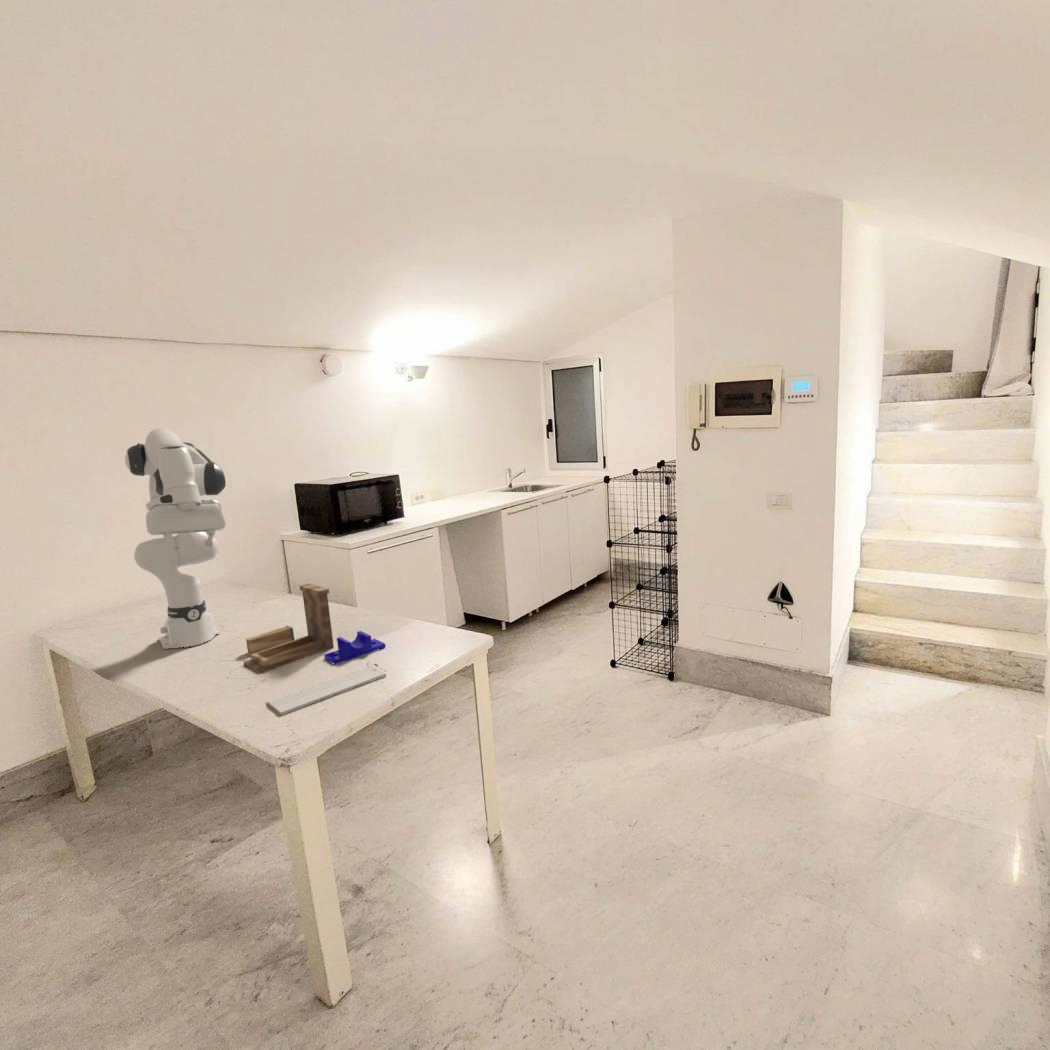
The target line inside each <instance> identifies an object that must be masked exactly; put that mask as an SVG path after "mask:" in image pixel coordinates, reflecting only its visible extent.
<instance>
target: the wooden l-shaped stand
mask: <svg viewBox="0 0 1050 1050" xmlns="http://www.w3.org/2000/svg"><path fill="white" fill-rule="evenodd" d="M299 591H301V593H302V599H303V606H304V614H305V622H306V630H307V631H306V632H307V635H305V636H302V637H299V638H296V639H294V640H293V641H290V642H286V643H283V644H280V645H277V646H274V647H271V648H268V649H265V650H262V651H259V652H256V653H253V654H250V653H249V654H250V659H247V660H244V661H243V665H244V666H246V667H248V668H250V669H251V670H254V671H255V672H258V673H259V674H263V673H265V671H266V672H269V671H272V670H274V669H277V668H280V667H282V665H283V666H285V664H286V665H288V664H291V663H294V662H297V661H300V660H302V658H303V659H305V658H308V657H310V655H311V656H313V654H314V655H316V653H317V654H319V653H322V652H325V651H327V649H328V650H331V649H334V648H335V646H334V638H333V630H332V623H331V616H330V615H331V614H330V606H329V599H328V594H330V590H329V588H328V587H327V588H326V587H324V586H321V585H315V584H313V583H312V584H311V583H306V584H303V585H299ZM333 647H334V648H333ZM330 648H331V649H330ZM318 652H319V653H318ZM307 656H308V657H307ZM304 657H305V658H304ZM299 659H300V660H299ZM296 660H297V661H296ZM290 662H291V663H290ZM268 670H269V671H268ZM262 672H263V673H262Z"/></svg>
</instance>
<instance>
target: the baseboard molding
mask: <svg viewBox="0 0 1050 1050" xmlns="http://www.w3.org/2000/svg"><path fill="white" fill-rule="evenodd" d="M369 664H370V662H369V661H367V663H366V666H365V667H361V668H359V669H356V670H354V671H351V672H348V673H345V674H342V675H340V676H336V677H333V678H330V679H328V680H326V681H323V682H320V683H316V684H314V685H311V686H308V687H306V688H302V689H300V690H298V691H297V690H296V691H294V692H291V693H288V694H286V695H283V696H280V697H276V698H274V699H272V700H268V701H266V702H265V704H266V703H267V704H266V705H267V706H269V707H270V706H271V707H272V709H273V710H274V711H275V712H276V713H277V714H279V716H283V715H287V714H288V713H292V712H294V711H296V710H300V709H301V708H304V706H305V707H308V706H310V705H312V703H313V704H315V702H316V703H318V702H321V701H322V699H324V700H326V699H328V698H327V697H329V698H331V697H330V696H332V695H334V696H336V695H335V694H337V695H339V694H338V693H340V694H342V693H344V692H343V691H345V692H347V691H346V690H348V691H350V690H352V689H351V688H353V689H355V688H354V687H356V686H358V687H360V686H359V685H361V686H363V685H362V684H364V685H366V684H368V683H367V682H369V683H371V682H370V681H372V680H374V681H376V680H375V679H377V680H379V679H378V678H380V677H382V678H384V677H383V676H385V677H387V673H386V672H387V670H384V669H382V668H380V667H379V666H378V664H377V663H374V664H373V665H369ZM376 667H378V668H376ZM380 669H381V670H380ZM380 679H381V678H380ZM372 682H373V681H372ZM365 683H366V684H365ZM356 688H357V687H356ZM349 689H350V690H349ZM341 692H342V693H341ZM332 697H333V696H332ZM325 698H326V699H325ZM320 700H321V701H320ZM317 701H318V702H317ZM309 704H310V705H309ZM307 705H308V706H307ZM271 707H270V708H271Z"/></svg>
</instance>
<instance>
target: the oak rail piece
mask: <svg viewBox="0 0 1050 1050" xmlns="http://www.w3.org/2000/svg"><path fill="white" fill-rule="evenodd" d="M293 640H295V634H294V627H291V626H290V625H284V627H280V628H276V629H273V630H270V631H265V632H264V633H259V634H257V635H253V636H250V637H247V638H245V641H246V648H247V653H248V652H249V653H248V654H250V653H251V654H253V653H256V652H259V651H262V650H265V649H268V648H271V647H274V646H277V645H280V644H283V643H286V642H290V641H293Z"/></svg>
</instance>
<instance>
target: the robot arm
mask: <svg viewBox="0 0 1050 1050" xmlns="http://www.w3.org/2000/svg"><path fill="white" fill-rule="evenodd" d="M124 462H125V465H126V468H127V469H128V471H130V474H132V475H134V476H139V477H144V476H149V479H148V480H149V481H148V486H149V487H148V489H149V491H148V492H149V501H148V502H147V503H146V504H145V506H146V509H147V513H146V516H145V520H146V521H145V523H146V530H147V532H148V533H149V535H151V536H160V535H162V536H163V537H160V538H159V537H157V538H152V539H148V540H146V541H142V542H139V544H137V546H136V547H135V549H134V553H133V555H134V556H133V557H134V560H135V563H136V565H137V566H138V567H139V568H141V569H142V570H144V571H147V572H148V573H150V574H152V575H154V576H155V577H156V579H158V580H159V581H160V583H161V584H162V586H163V588H164V591H165V596H166V600H167V605H168V606H167V611H166V612H167V619H166V620H165V622H164V623H163V624H164V626H161V627H160V628H159V629H160V633H161V634H163V635H160V636H159V638H158V640H159V642H160V644H161V647H162V649H163V650H170V649H183V648H182V647H184V648H189V646H191V647H195V646H199V645H201V644H204V642H205V643H207V641H208V642H210V641H211V640H213V639H214V638H215V637H216V636H217V635H216V634H218V633H219V634H220V630H218V629H215V625H214V621H213V617H212V614H211V613H210V612H208V611H207V604H206V600H204V596H203V590H202V583H201V580H200V579H199V578H197V577H196V576H194V575H190V574H186V573H182V572H180V571H179V570H178V569H179V568H180V567H184V566H191V565H197V564H198V565H199V564H202V563H205V562H206V563H207V562H209V561H211V560H215V558H216V556H217V555H218V552H219V543H218V541H217V539H216V538H215V535H216V532H219V531H221V530H224V529H225V528H226V525H227V523H226V519H225V516H224V513H223V511H222V510H223V509H222V504H221V503H220V502H218V501H217V500H215V499H201V497H203V496H218V495H219V494H221V492H222V491H223V490H225V488H226V482H227V480H226V474H225V472H224V471H223V469H222V467H221V466H220V465H219V464H217V463H216V462H215V461H212V460H211V459H210V458H209V457H208V456H207V455H205V454H204V452H202V450H200V449H198V448H197V447H196V446H195V445H194V444H193V443H191V442H184V441H182V439H180V437H179V436H178V435H177V434H176V432H174V431H172V430H171V429H168V428H165V427H158V428H155V429H152V430H151V431H150V432H149V433H148V434H147V435H146V439H145V442H144V443H140V442H137V444H134V445H132V446H130V447H129V448H128V449H127V451H126V454H125V457H124ZM174 534H175V535H174ZM219 634H218V635H219ZM215 635H216V636H215ZM214 636H215V637H214ZM213 637H214V638H213ZM212 638H213V639H212ZM209 640H210V641H209ZM194 645H195V646H194ZM179 647H180V648H179ZM169 648H170V649H169Z"/></svg>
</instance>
